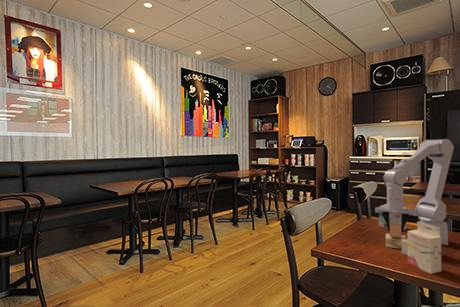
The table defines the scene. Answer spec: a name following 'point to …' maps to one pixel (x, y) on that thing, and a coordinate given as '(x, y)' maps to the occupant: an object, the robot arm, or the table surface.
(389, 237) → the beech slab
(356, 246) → the table surface
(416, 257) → the ink cartridge box
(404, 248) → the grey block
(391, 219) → the light bulb box
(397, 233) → the terracotta block
